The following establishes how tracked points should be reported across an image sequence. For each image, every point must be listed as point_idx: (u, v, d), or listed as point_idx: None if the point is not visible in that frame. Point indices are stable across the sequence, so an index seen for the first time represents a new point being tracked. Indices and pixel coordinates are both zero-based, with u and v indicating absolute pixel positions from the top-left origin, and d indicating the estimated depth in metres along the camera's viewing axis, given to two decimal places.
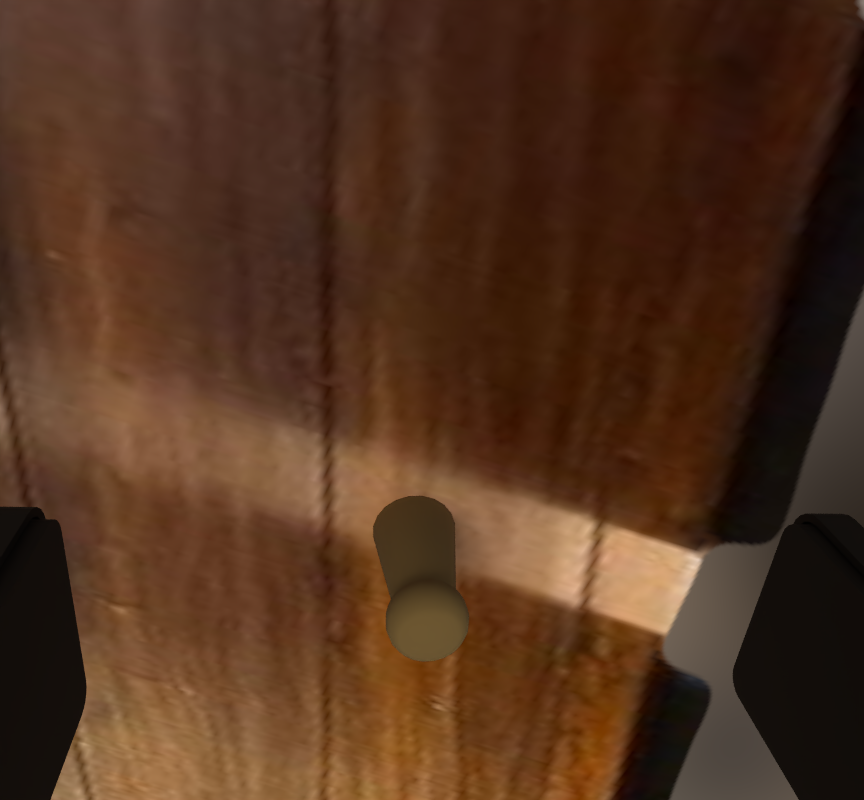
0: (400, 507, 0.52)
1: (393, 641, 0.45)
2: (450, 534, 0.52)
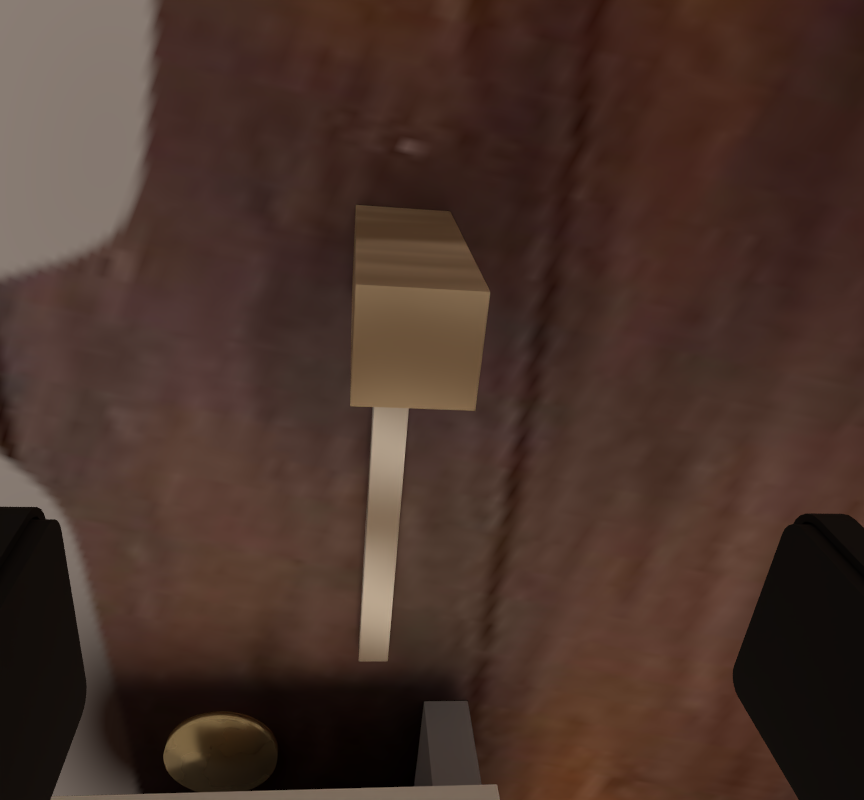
0: None
1: None
2: None
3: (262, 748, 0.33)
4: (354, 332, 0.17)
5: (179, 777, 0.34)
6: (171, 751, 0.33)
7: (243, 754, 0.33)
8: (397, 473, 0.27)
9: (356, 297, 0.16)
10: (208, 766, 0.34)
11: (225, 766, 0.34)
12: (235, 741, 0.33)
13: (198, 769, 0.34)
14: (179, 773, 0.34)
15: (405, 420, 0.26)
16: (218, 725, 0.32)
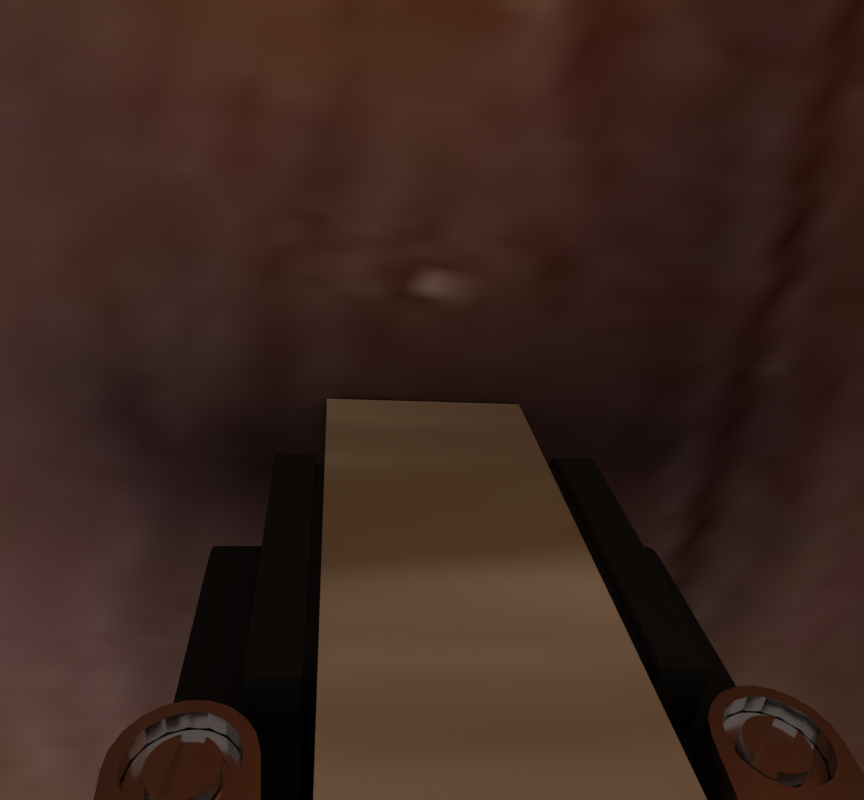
0: None
1: None
2: None
3: None
4: None
5: None
6: None
7: None
8: None
9: None
10: None
11: None
12: None
13: None
14: None
15: None
16: None
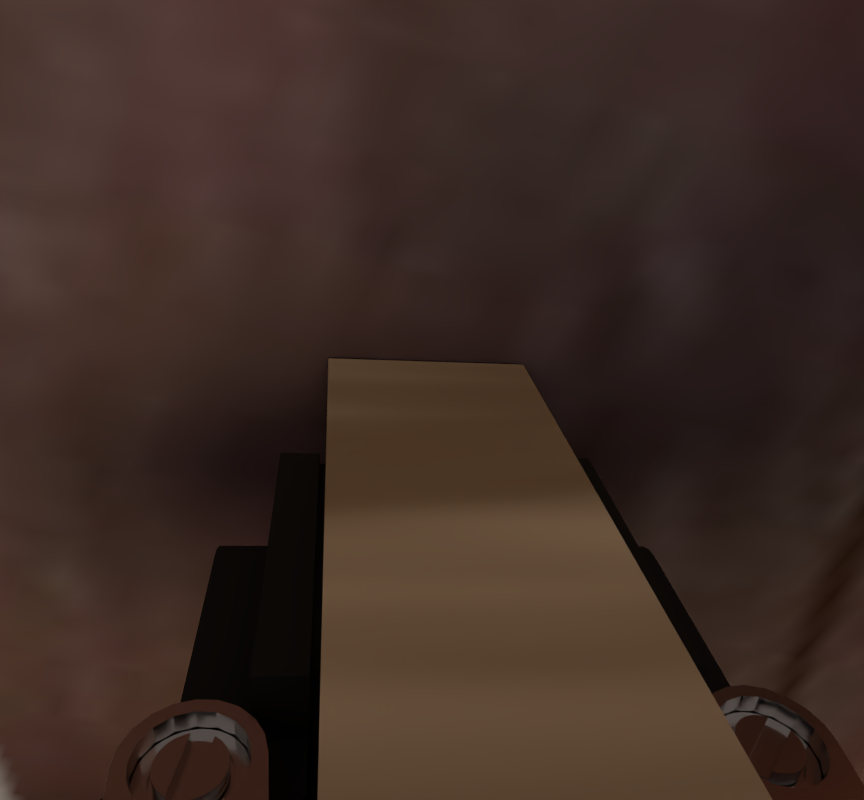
0: None
1: None
2: None
3: None
4: None
5: None
6: None
7: None
8: None
9: None
10: None
11: None
12: None
13: None
14: None
15: None
16: None
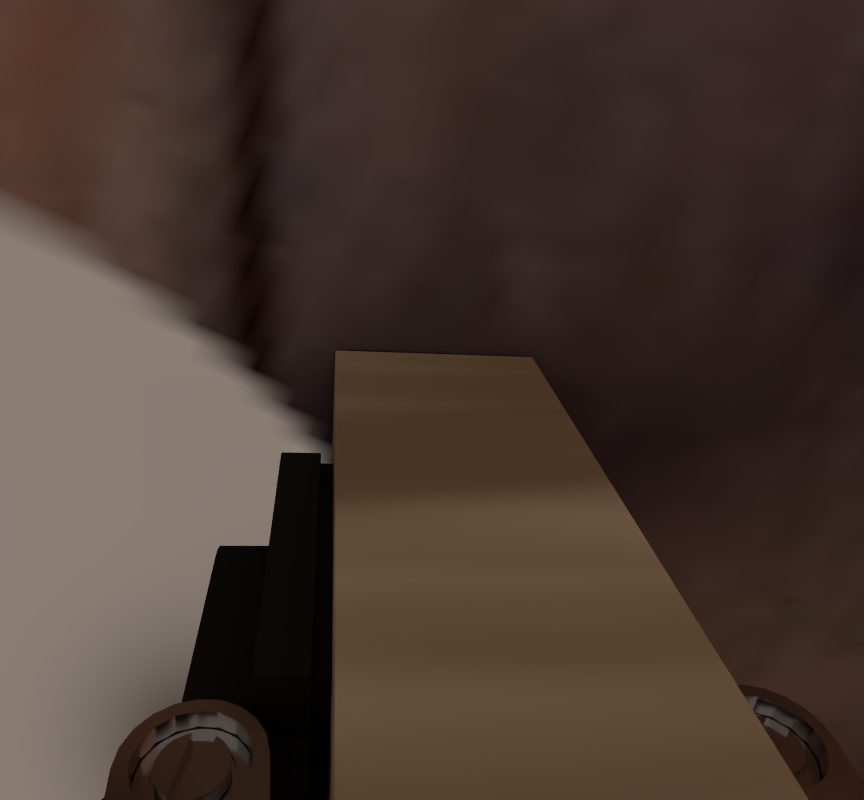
0: None
1: None
2: None
3: None
4: None
5: None
6: None
7: None
8: None
9: None
10: None
11: None
12: None
13: None
14: None
15: None
16: None
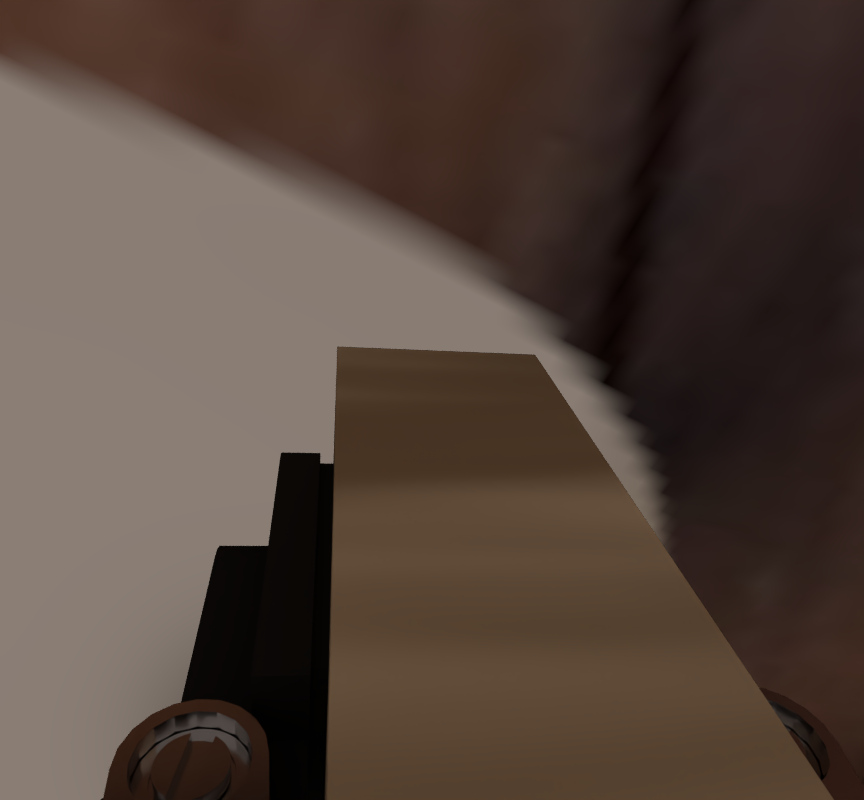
0: None
1: None
2: None
3: None
4: None
5: None
6: None
7: None
8: None
9: None
10: None
11: None
12: None
13: None
14: None
15: None
16: None
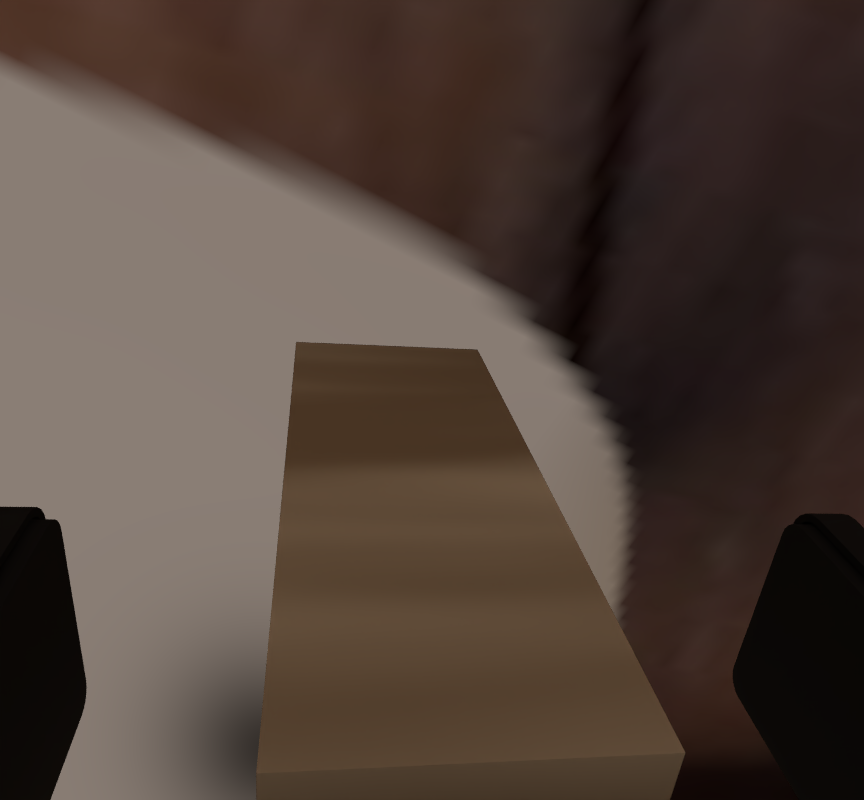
0: None
1: None
2: None
3: None
4: None
5: None
6: None
7: None
8: None
9: None
10: None
11: None
12: None
13: None
14: None
15: None
16: None
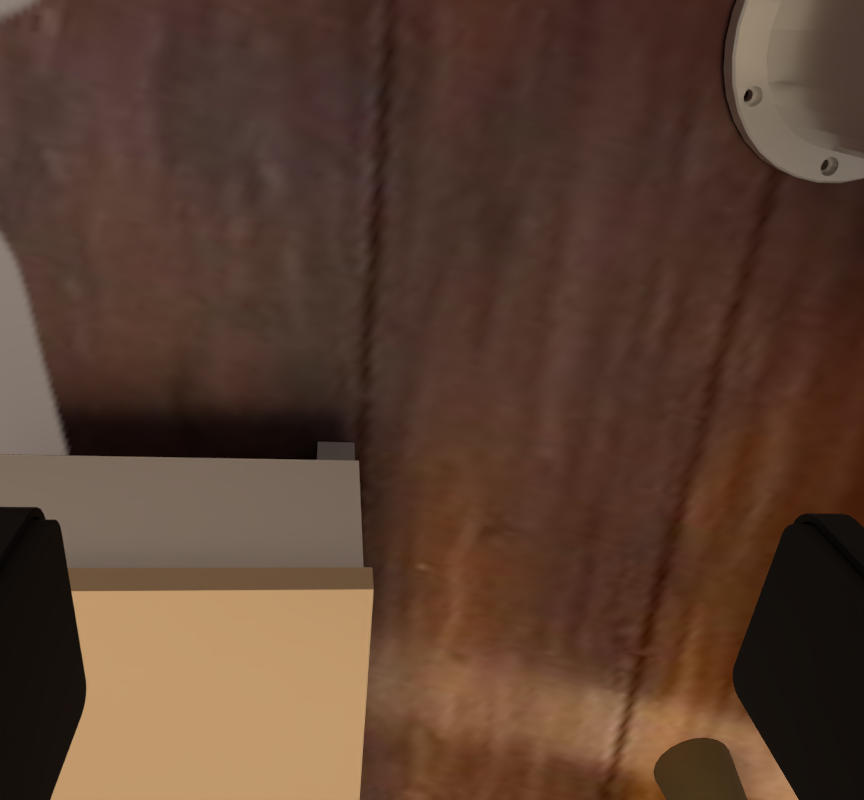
0: (689, 752, 0.55)
1: None
2: (739, 780, 0.55)
3: None
4: None
5: None
6: None
7: None
8: None
9: None
10: None
11: None
12: None
13: None
14: None
15: None
16: None
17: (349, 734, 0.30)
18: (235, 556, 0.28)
